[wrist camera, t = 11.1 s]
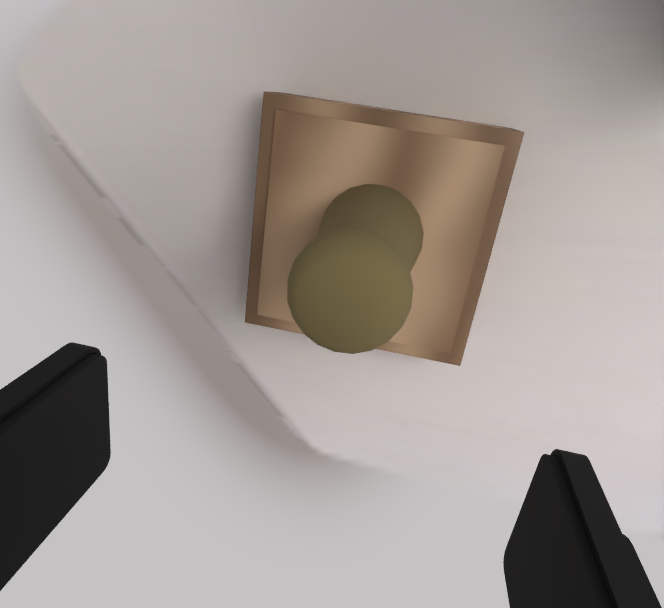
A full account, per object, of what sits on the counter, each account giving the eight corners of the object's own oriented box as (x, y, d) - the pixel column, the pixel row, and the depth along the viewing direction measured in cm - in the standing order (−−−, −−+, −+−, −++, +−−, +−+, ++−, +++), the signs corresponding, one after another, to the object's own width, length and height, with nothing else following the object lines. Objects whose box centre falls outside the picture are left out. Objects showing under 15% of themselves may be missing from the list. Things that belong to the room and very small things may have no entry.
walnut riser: (511, 128, 30) (524, 132, 26) (456, 338, 35) (460, 367, 32) (282, 92, 31) (262, 91, 28) (262, 300, 37) (244, 323, 33)
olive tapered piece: (313, 188, 29) (255, 235, 19) (420, 178, 28) (419, 223, 18) (325, 288, 31) (279, 377, 21) (426, 283, 30) (427, 375, 20)
